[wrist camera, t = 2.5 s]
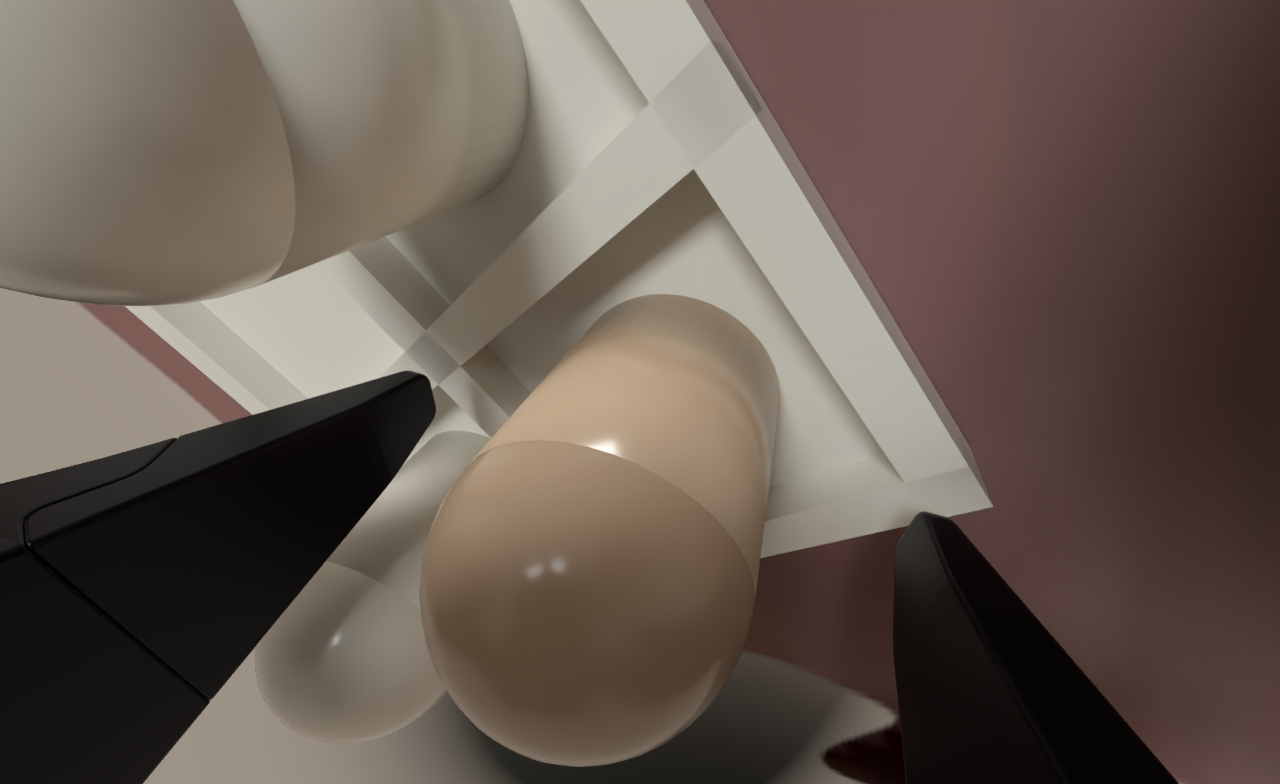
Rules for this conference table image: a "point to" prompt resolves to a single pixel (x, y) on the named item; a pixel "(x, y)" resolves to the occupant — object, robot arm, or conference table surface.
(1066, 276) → the conference table surface
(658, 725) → the brown egg
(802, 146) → the conference table surface
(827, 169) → the conference table surface
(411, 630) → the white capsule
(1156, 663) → the conference table surface
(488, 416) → the egg carton
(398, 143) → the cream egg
